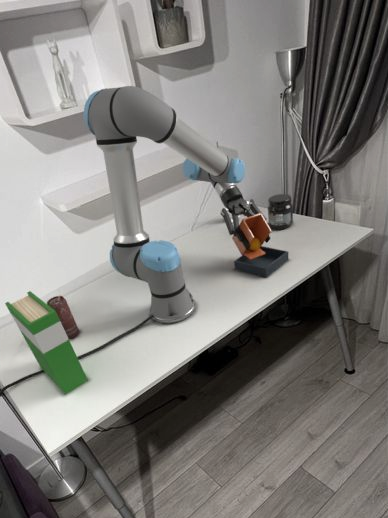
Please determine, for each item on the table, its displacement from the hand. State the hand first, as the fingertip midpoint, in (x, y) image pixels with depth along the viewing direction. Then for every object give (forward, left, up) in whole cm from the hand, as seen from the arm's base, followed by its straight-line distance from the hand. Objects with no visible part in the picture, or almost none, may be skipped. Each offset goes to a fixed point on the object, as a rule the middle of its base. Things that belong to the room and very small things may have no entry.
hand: (258, 244), depth 144 cm
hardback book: (-79, +15, -9) cm, 81 cm away
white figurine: (+32, +39, -9) cm, 51 cm away
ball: (+2, +4, -2) cm, 5 cm away
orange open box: (+2, +7, -3) cm, 8 cm away
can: (-66, +31, -9) cm, 73 cm away
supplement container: (+34, +14, -9) cm, 38 cm away
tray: (+1, 0, -9) cm, 9 cm away
